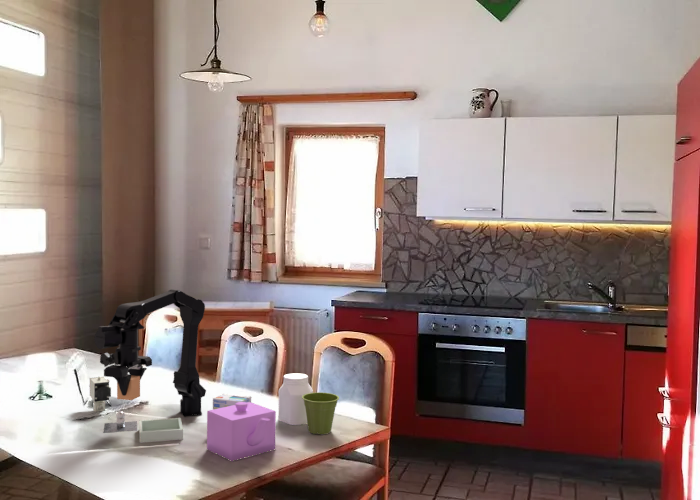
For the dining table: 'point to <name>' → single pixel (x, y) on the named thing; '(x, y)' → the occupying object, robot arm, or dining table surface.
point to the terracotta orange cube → (130, 389)
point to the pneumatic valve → (99, 392)
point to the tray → (160, 430)
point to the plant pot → (320, 411)
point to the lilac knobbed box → (241, 430)
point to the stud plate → (114, 427)
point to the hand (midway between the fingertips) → (128, 393)
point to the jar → (293, 399)
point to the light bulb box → (228, 400)
